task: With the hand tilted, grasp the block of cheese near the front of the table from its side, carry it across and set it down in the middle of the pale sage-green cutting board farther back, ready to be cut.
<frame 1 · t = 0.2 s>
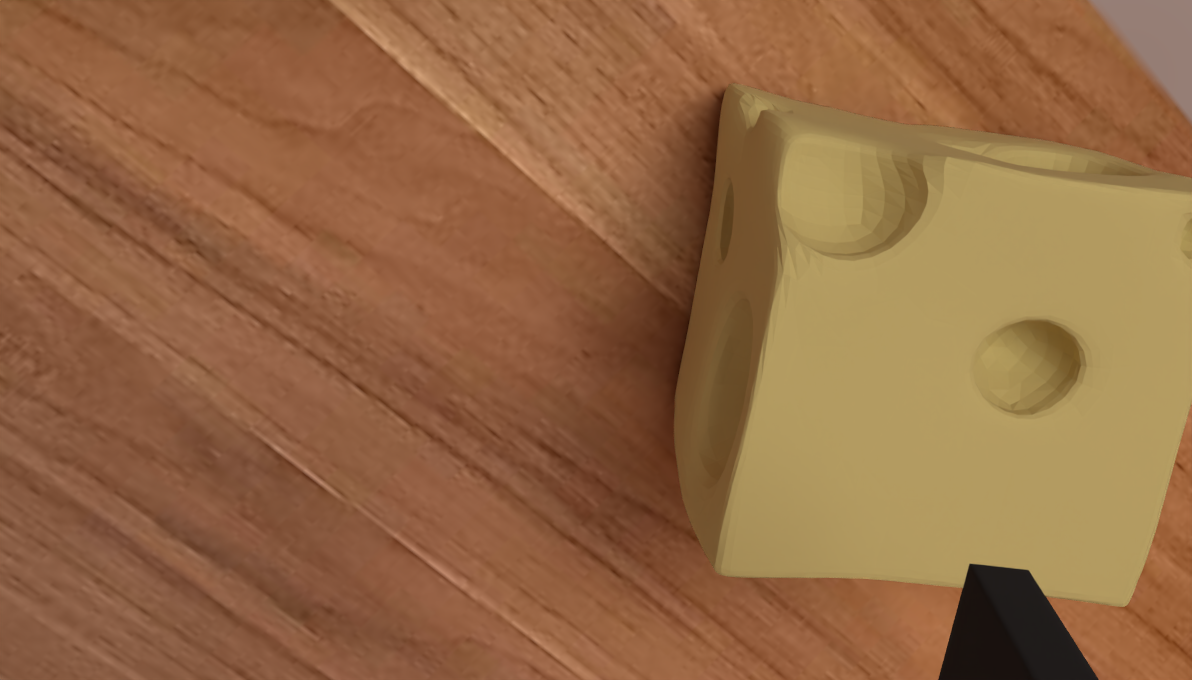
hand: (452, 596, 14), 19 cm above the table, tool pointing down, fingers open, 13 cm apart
cheese: (859, 279, 33), on the table
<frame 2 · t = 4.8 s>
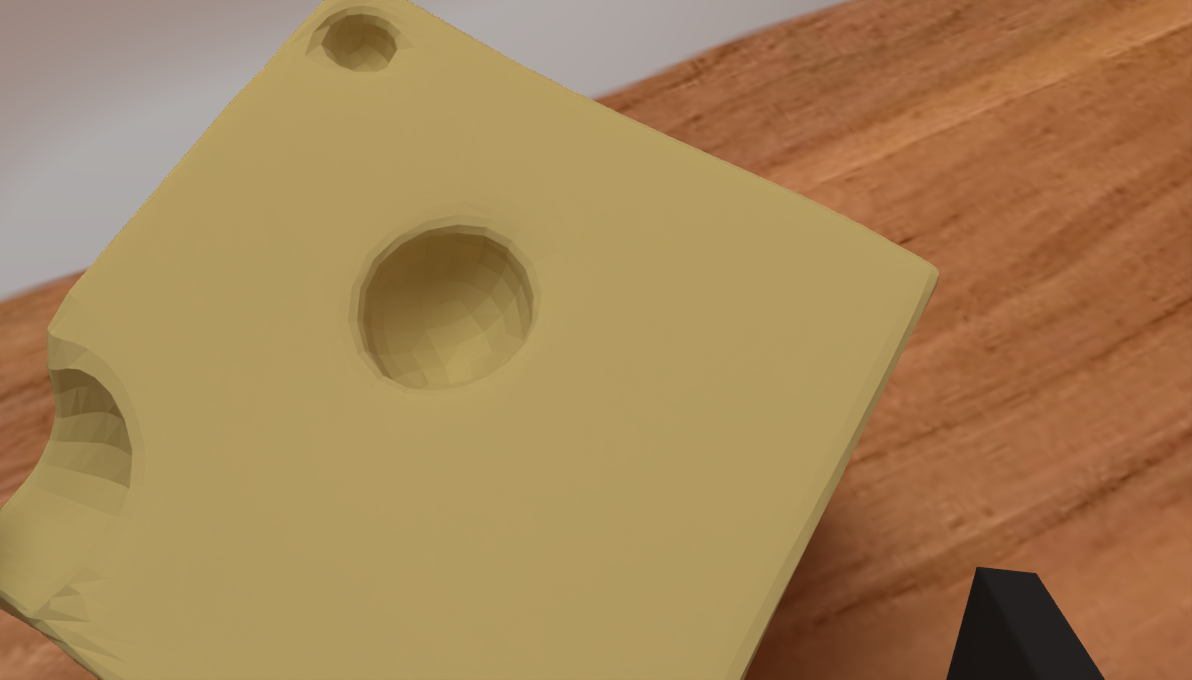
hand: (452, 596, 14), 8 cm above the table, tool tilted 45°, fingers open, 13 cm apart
cheese: (484, 558, 23), on the table, touching gripper
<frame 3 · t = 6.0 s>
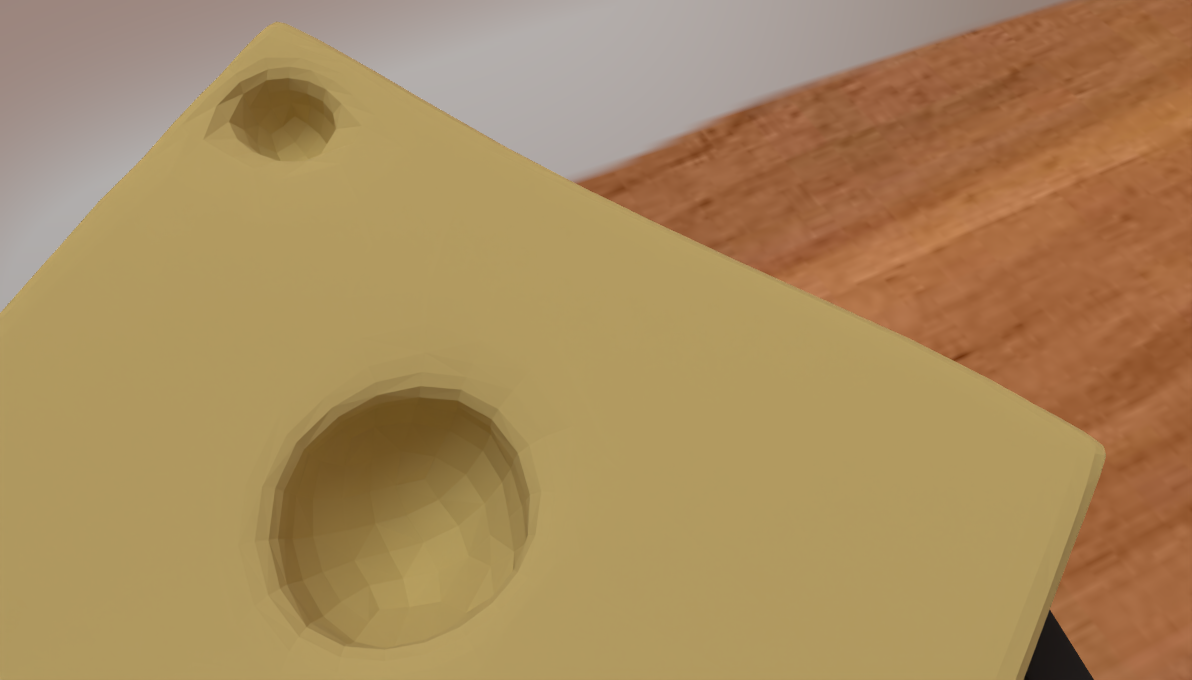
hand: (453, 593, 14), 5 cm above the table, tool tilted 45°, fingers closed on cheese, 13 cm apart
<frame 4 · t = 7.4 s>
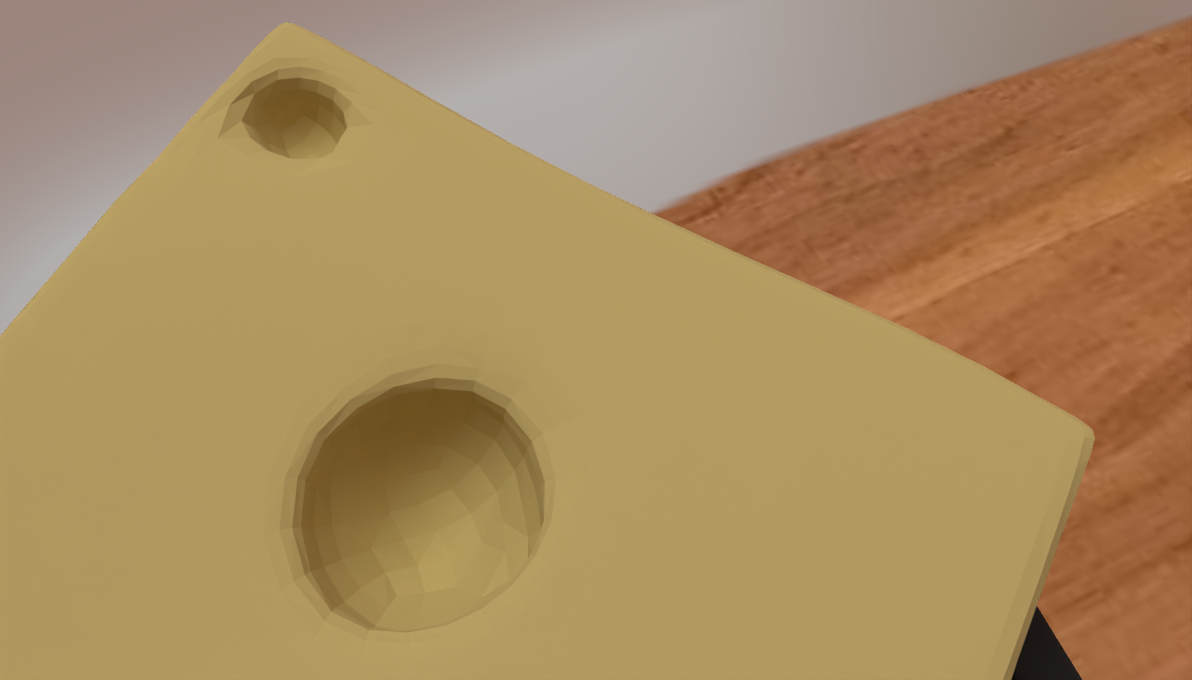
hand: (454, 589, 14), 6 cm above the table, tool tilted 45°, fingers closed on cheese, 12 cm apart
when the fingers open (7 cm above the table, at t = 19.0 s): cheese stays where it is, resting on board.
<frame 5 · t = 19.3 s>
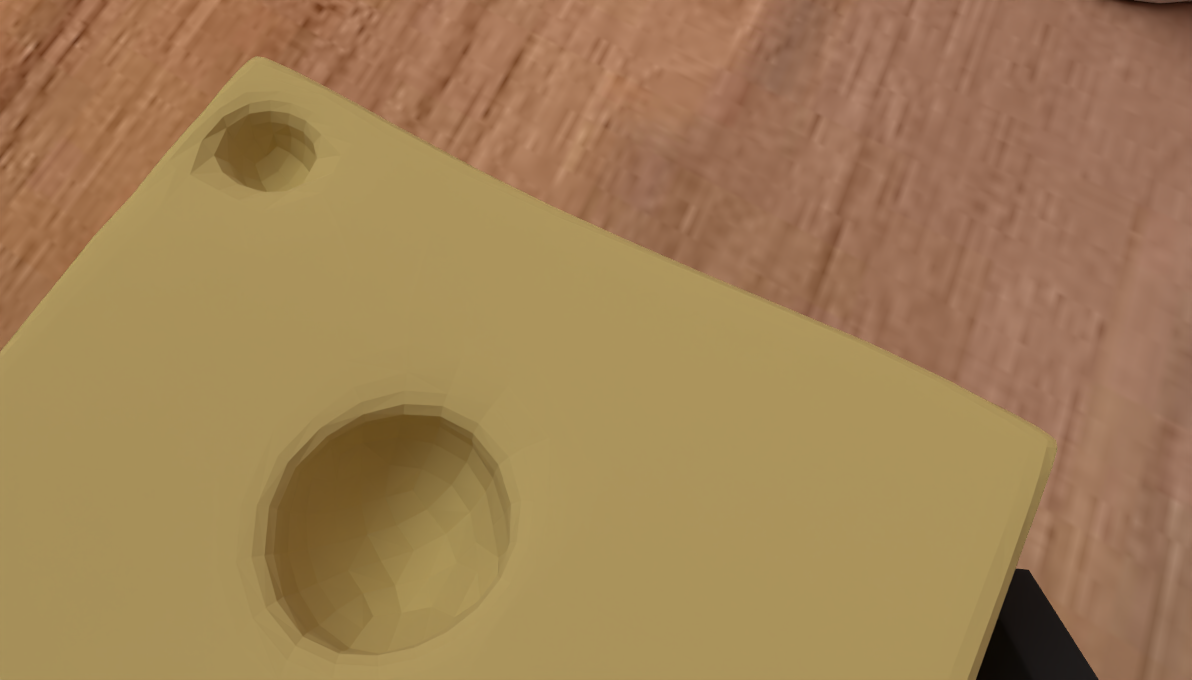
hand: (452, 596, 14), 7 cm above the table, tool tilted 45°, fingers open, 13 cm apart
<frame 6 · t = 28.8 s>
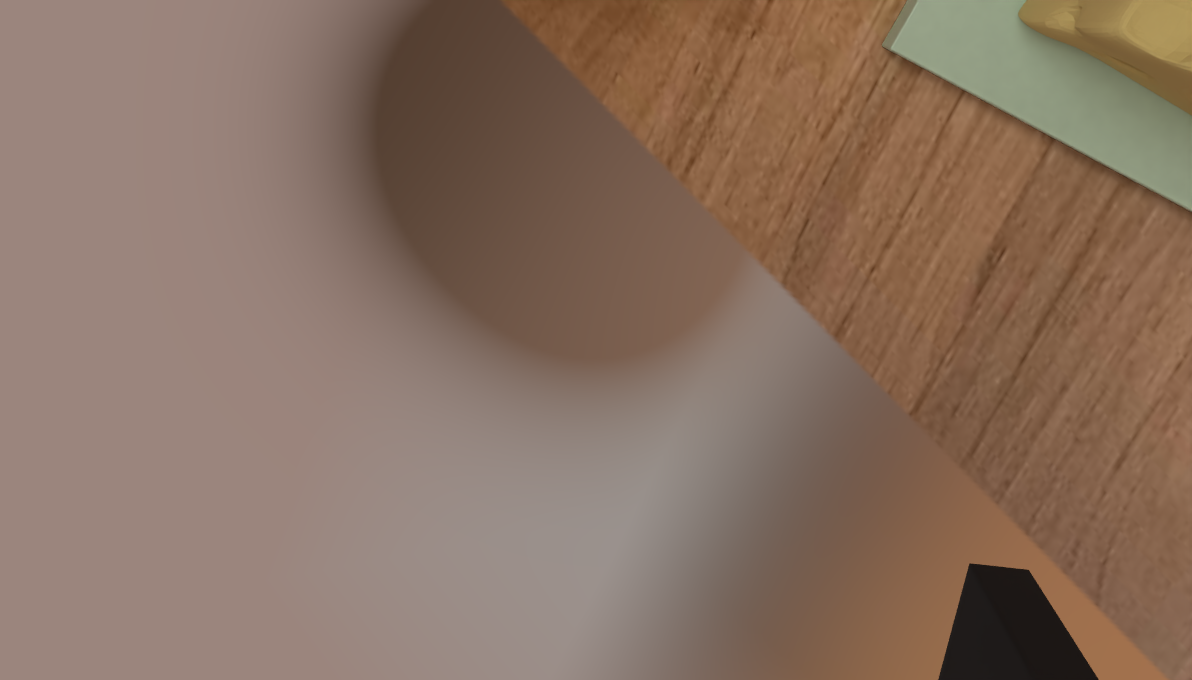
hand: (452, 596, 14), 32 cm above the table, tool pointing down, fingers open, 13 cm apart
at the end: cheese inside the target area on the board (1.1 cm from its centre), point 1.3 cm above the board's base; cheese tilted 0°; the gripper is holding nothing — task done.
